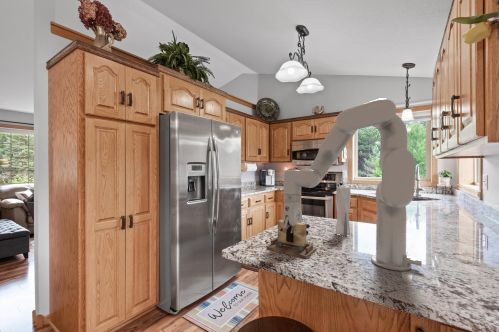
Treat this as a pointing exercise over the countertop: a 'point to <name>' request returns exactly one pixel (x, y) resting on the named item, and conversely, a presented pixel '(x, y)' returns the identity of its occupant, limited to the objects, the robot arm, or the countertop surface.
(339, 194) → the cheese grater
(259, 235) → the countertop surface
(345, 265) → the countertop surface
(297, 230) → the door panel
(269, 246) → the cabinet base
